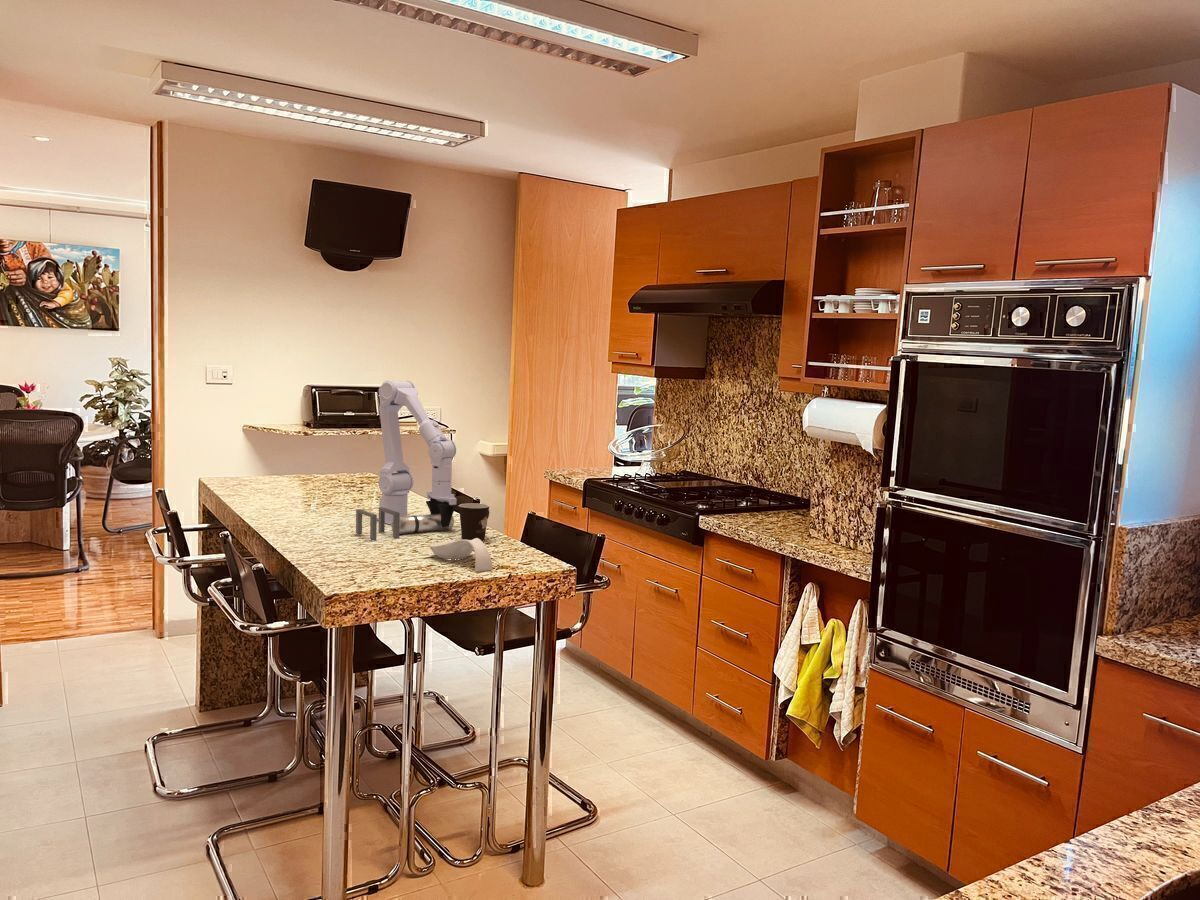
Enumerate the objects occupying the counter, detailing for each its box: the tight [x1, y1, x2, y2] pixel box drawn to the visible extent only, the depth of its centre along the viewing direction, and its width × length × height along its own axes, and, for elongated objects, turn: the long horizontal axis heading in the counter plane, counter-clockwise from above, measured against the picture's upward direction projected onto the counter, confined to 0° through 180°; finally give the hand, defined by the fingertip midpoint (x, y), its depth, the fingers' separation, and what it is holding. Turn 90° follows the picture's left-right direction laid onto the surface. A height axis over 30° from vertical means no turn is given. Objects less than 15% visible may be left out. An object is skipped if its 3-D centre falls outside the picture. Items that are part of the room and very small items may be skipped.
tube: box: [390, 513, 455, 535], centre depth 267 cm, size 18×5×5 cm, turn 129°
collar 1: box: [355, 508, 378, 541], centre depth 255 cm, size 11×1×7 cm, turn 39°
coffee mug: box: [458, 502, 490, 542], centre depth 258 cm, size 12×9×10 cm
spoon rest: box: [429, 538, 494, 573], centre depth 229 cm, size 24×12×7 cm, turn 36°
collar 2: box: [377, 506, 400, 539], centre depth 260 cm, size 11×1×7 cm, turn 39°
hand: (440, 525), depth 270 cm, fingers closed on tube, 5 cm apart
